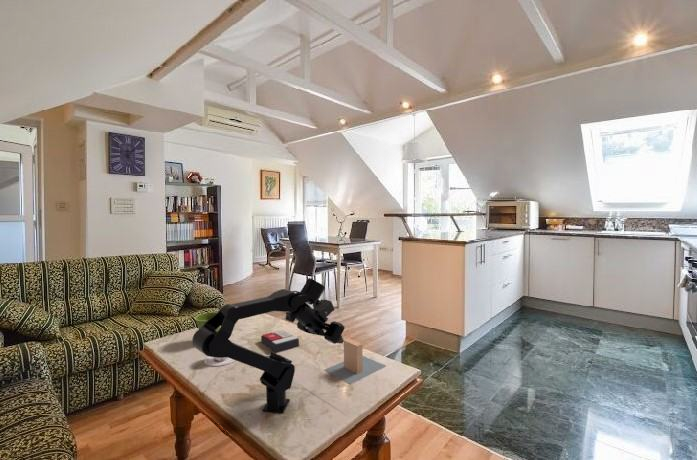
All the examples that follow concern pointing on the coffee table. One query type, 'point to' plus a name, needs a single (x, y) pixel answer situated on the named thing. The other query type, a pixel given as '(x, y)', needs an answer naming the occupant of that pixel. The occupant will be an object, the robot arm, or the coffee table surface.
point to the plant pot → (204, 319)
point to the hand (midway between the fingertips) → (333, 338)
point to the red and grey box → (280, 341)
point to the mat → (350, 376)
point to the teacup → (211, 361)
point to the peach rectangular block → (353, 356)
